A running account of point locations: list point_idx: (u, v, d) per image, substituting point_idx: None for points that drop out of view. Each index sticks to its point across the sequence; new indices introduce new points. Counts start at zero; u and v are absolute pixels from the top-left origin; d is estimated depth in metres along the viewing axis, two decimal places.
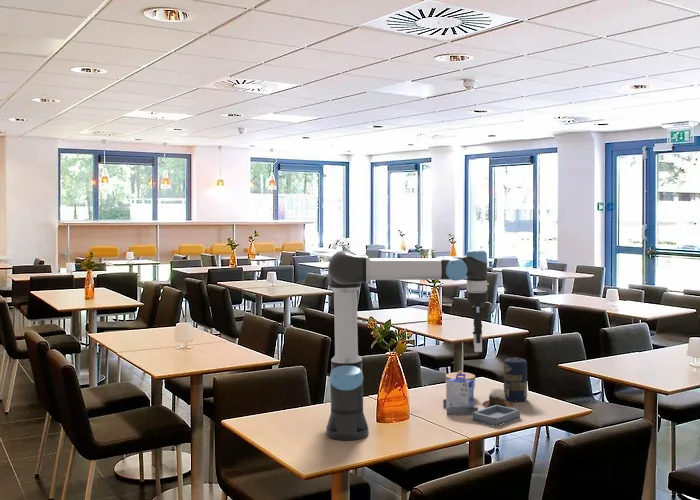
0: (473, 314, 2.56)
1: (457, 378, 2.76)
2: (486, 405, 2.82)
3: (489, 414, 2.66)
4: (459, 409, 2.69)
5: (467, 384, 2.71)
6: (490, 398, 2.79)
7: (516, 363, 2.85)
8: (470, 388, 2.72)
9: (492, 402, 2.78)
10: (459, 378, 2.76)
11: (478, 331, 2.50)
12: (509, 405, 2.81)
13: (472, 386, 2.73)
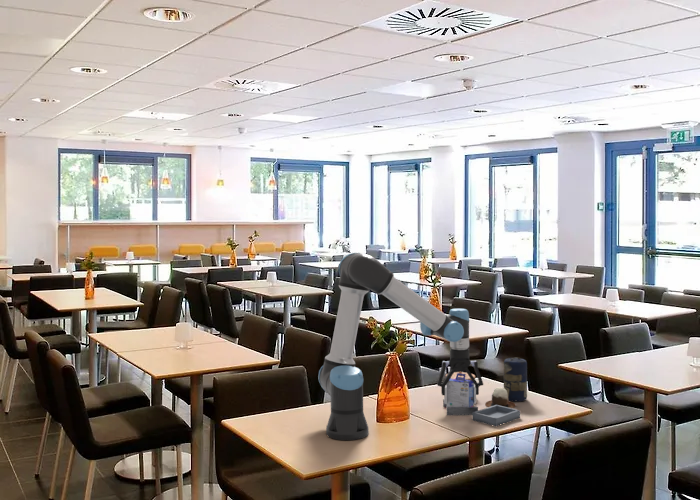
0: (451, 368, 2.76)
1: (457, 378, 2.76)
2: (489, 405, 2.81)
3: (489, 414, 2.66)
4: (459, 409, 2.69)
5: (467, 384, 2.71)
6: (493, 398, 2.79)
7: (516, 363, 2.85)
8: (470, 388, 2.72)
9: (495, 402, 2.78)
10: (459, 378, 2.76)
11: (437, 383, 2.75)
12: (512, 405, 2.81)
13: (472, 386, 2.73)
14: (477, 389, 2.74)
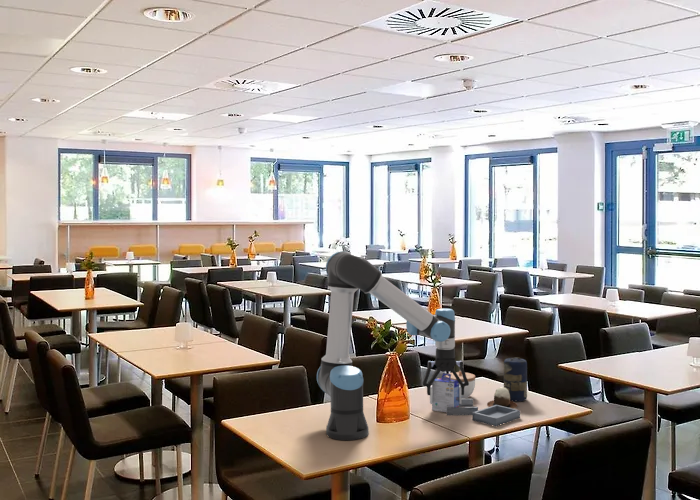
0: None
1: (443, 378, 2.76)
2: (491, 405, 2.81)
3: (489, 414, 2.66)
4: (459, 409, 2.69)
5: (452, 384, 2.71)
6: (495, 398, 2.79)
7: (516, 363, 2.85)
8: (455, 388, 2.72)
9: (497, 402, 2.78)
10: (445, 378, 2.76)
11: None
12: (514, 405, 2.81)
13: (458, 386, 2.74)
14: (462, 389, 2.74)
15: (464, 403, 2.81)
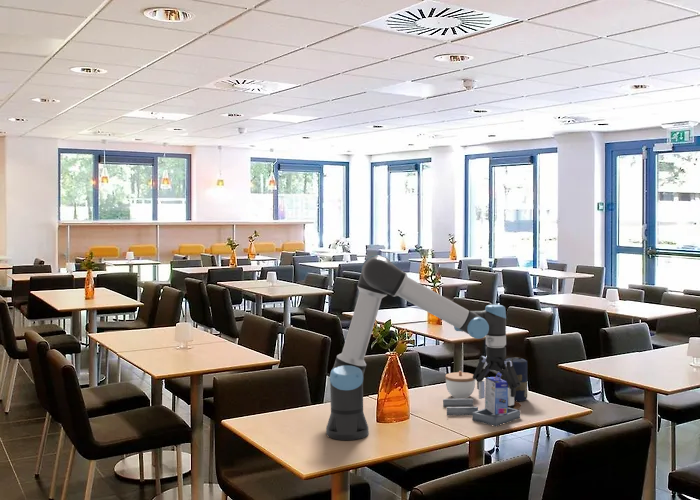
0: None
1: (496, 377, 2.64)
2: None
3: (489, 414, 2.66)
4: (459, 409, 2.69)
5: (494, 384, 2.58)
6: None
7: (516, 363, 2.85)
8: (499, 389, 2.58)
9: None
10: (497, 377, 2.63)
11: None
12: (518, 405, 2.80)
13: (504, 388, 2.58)
14: (512, 391, 2.56)
15: (464, 403, 2.81)
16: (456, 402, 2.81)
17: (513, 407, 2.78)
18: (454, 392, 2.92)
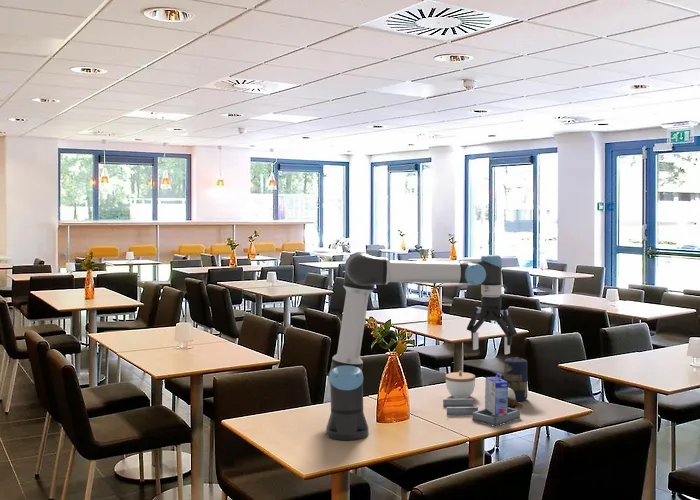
0: None
1: (496, 377, 2.64)
2: None
3: (489, 414, 2.66)
4: (459, 409, 2.69)
5: (494, 384, 2.58)
6: None
7: (517, 363, 2.85)
8: (499, 389, 2.58)
9: None
10: (497, 377, 2.63)
11: None
12: (519, 405, 2.80)
13: (504, 388, 2.58)
14: (508, 339, 2.58)
15: (464, 403, 2.81)
16: (456, 402, 2.81)
17: (514, 407, 2.78)
18: (454, 392, 2.92)
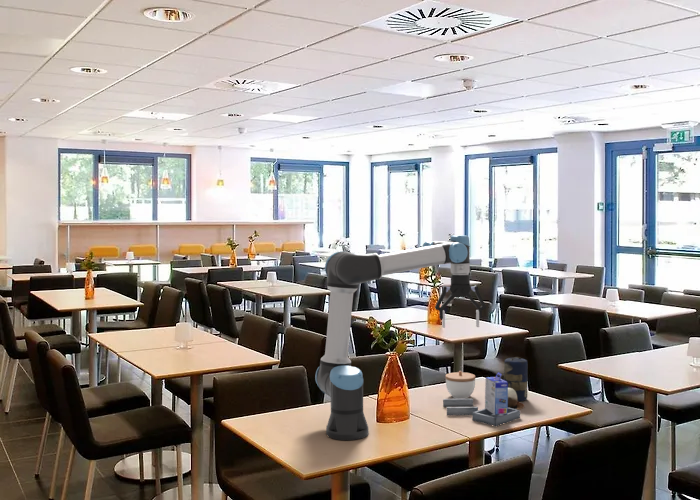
0: (451, 293, 2.79)
1: (496, 377, 2.64)
2: None
3: (489, 414, 2.66)
4: (459, 409, 2.69)
5: (494, 384, 2.58)
6: None
7: (517, 363, 2.85)
8: (499, 389, 2.58)
9: None
10: (497, 377, 2.63)
11: (435, 307, 2.78)
12: (521, 405, 2.80)
13: (504, 388, 2.58)
14: (480, 313, 2.77)
15: (464, 403, 2.81)
16: (456, 402, 2.81)
17: (516, 407, 2.78)
18: (454, 392, 2.92)
